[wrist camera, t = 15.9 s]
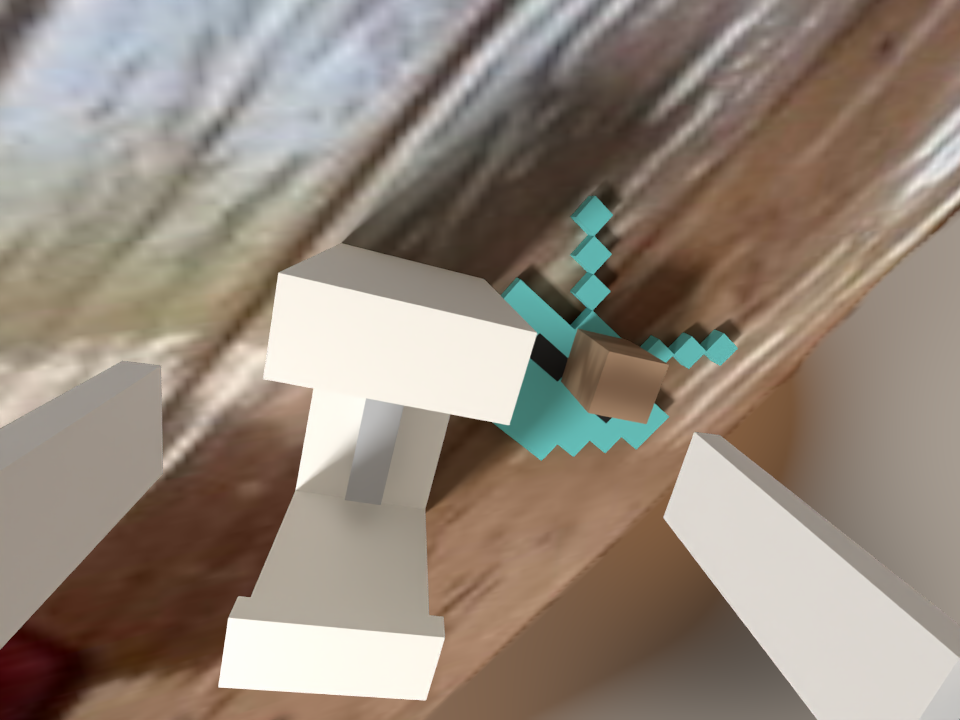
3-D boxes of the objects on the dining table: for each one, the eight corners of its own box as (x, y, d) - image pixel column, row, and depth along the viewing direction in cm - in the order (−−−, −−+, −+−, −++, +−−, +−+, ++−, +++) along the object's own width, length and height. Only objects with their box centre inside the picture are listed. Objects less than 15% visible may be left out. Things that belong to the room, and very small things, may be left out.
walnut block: (577, 328, 41) (609, 351, 35) (628, 340, 42) (669, 364, 36) (560, 381, 43) (588, 413, 36) (610, 391, 44) (646, 424, 37)
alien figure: (585, 196, 40) (432, 369, 43) (595, 195, 38) (433, 377, 41) (723, 341, 46) (580, 484, 49) (738, 348, 44) (588, 497, 47)
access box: (341, 243, 38) (278, 272, 20) (484, 279, 40) (537, 332, 23) (295, 498, 44) (218, 687, 27) (421, 516, 47) (425, 700, 29)
